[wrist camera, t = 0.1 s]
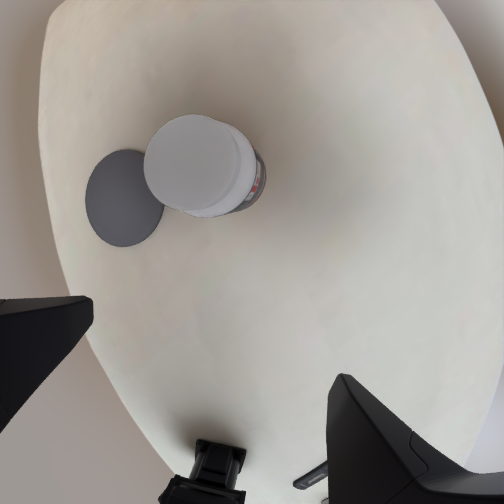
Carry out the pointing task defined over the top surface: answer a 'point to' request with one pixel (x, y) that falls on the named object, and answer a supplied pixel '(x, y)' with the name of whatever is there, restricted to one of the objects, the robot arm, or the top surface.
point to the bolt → (325, 501)
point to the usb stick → (312, 477)
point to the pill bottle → (203, 167)
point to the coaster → (122, 200)
